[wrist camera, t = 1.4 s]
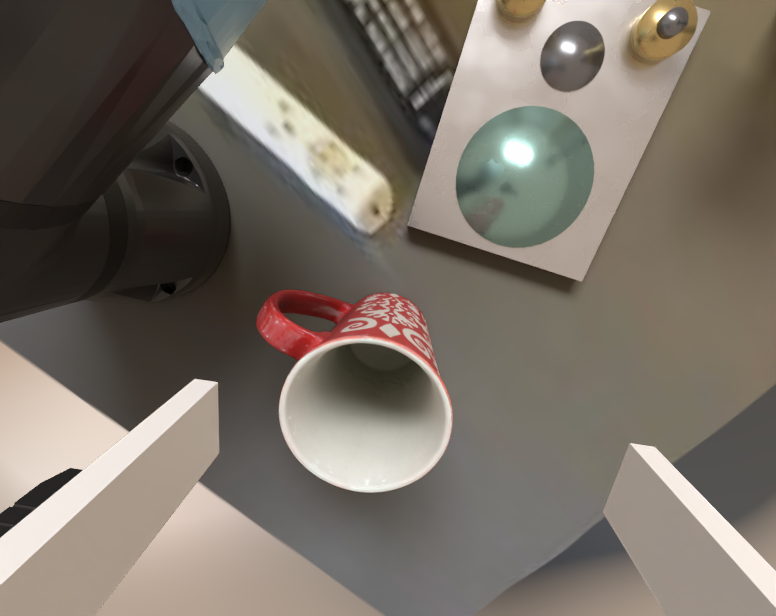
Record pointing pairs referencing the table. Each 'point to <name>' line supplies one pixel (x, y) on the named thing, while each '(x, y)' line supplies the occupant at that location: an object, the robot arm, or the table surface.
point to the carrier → (551, 123)
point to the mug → (359, 389)
